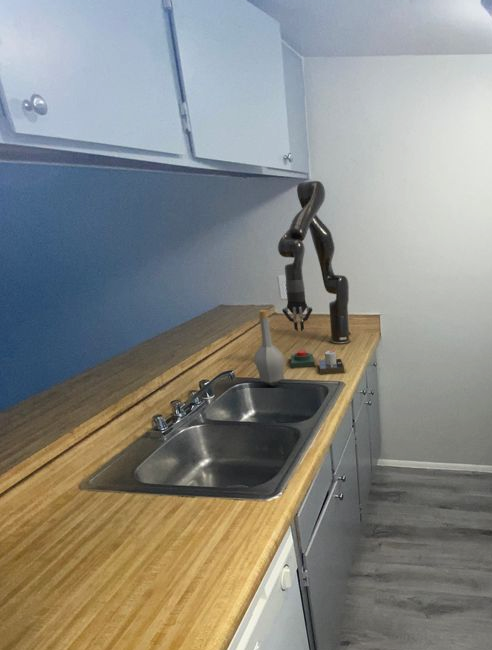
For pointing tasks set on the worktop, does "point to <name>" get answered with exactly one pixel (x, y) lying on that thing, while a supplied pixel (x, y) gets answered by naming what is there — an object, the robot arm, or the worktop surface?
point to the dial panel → (331, 367)
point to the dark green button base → (302, 361)
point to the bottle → (268, 355)
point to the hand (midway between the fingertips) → (299, 330)
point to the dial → (330, 357)
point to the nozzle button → (301, 353)
